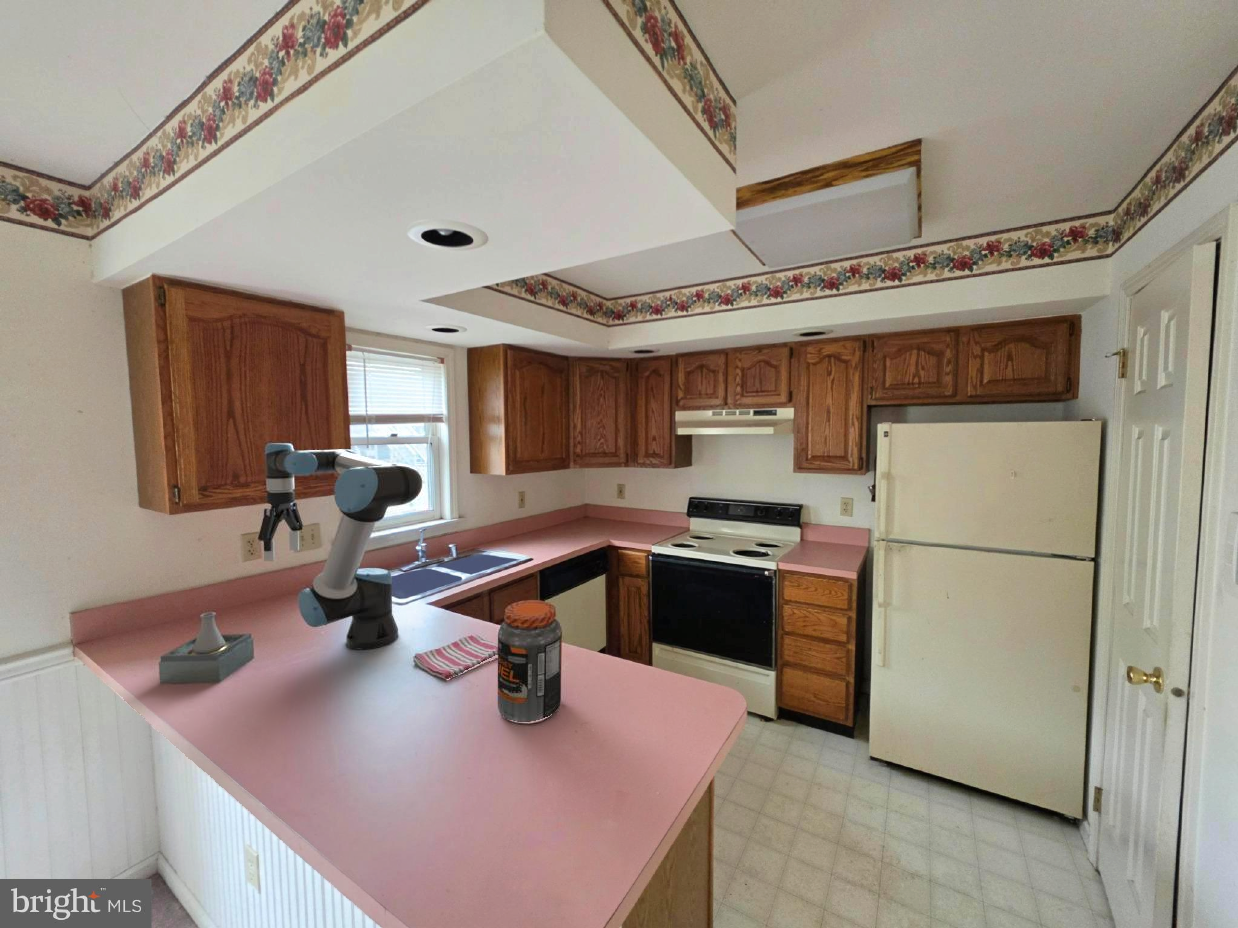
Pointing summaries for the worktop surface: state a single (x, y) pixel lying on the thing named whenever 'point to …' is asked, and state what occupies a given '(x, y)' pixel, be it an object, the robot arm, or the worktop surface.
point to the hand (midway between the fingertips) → (282, 555)
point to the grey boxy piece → (206, 661)
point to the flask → (208, 635)
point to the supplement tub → (529, 661)
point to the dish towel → (456, 656)
